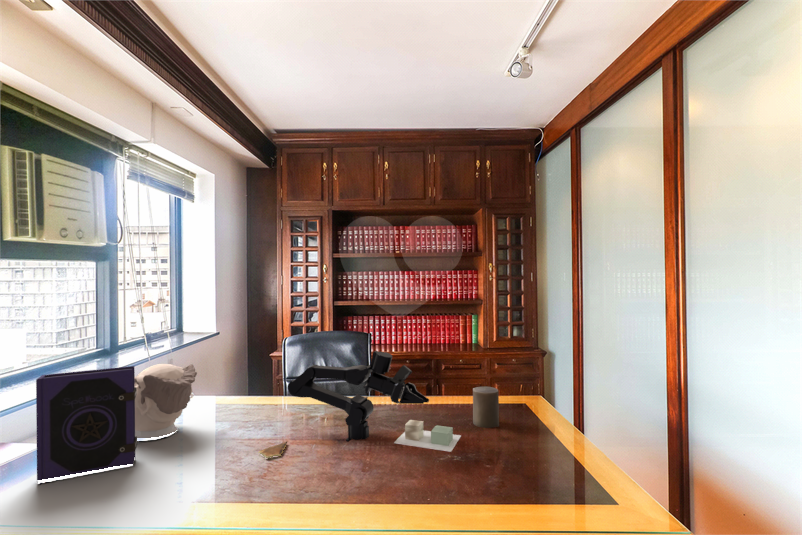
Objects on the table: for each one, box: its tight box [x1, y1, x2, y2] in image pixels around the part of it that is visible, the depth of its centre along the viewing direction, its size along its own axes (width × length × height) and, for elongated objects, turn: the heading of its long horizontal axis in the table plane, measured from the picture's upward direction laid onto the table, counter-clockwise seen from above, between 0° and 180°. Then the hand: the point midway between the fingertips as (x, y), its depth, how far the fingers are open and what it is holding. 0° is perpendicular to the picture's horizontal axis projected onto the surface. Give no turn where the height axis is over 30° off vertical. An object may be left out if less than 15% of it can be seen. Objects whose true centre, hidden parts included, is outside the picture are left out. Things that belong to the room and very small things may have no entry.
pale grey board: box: [393, 429, 462, 453], centre depth 145 cm, size 20×14×1 cm
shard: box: [257, 441, 288, 458], centre depth 138 cm, size 11×8×2 cm
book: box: [35, 365, 138, 481], centre depth 127 cm, size 24×6×30 cm, turn 117°
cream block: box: [404, 419, 424, 441], centre depth 147 cm, size 5×5×5 cm
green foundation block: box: [431, 425, 454, 446], centre depth 143 cm, size 6×6×4 cm
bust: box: [135, 363, 198, 438], centre depth 156 cm, size 26×20×30 cm
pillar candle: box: [472, 386, 500, 429], centre depth 160 cm, size 10×10×15 cm
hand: (426, 401), depth 141 cm, fingers open, 9 cm apart
